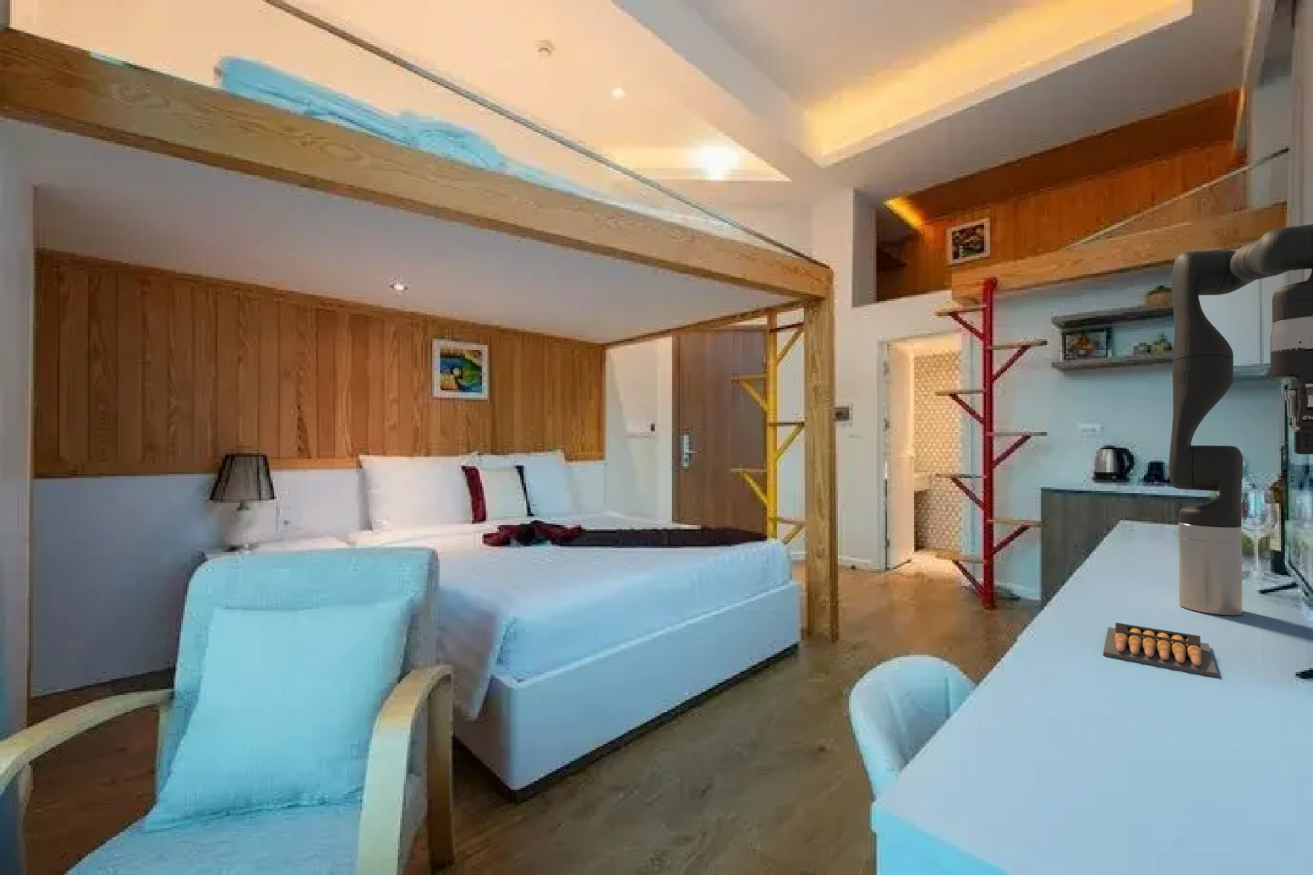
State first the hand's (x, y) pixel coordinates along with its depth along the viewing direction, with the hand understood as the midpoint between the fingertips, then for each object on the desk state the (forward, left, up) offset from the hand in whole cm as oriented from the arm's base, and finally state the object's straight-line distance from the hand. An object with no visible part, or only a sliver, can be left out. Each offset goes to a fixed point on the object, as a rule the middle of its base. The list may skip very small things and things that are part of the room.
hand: (1305, 454), depth 93 cm
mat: (+16, -19, -32) cm, 40 cm away
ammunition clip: (+12, -19, -30) cm, 37 cm away
